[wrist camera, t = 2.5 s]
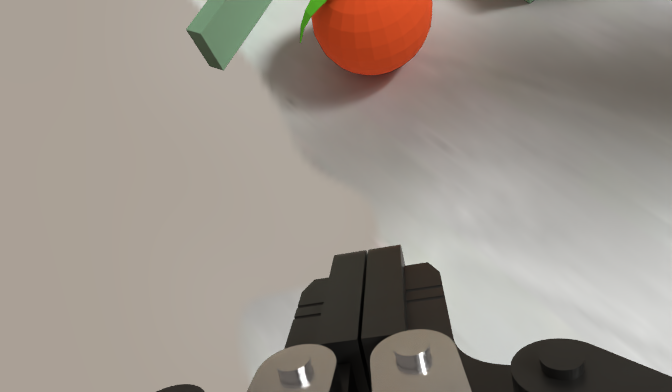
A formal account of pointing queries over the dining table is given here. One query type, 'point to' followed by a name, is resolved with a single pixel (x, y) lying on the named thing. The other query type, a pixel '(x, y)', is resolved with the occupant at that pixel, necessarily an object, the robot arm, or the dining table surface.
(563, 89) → the dining table surface
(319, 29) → the clementine
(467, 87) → the dining table surface
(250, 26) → the putting stall
